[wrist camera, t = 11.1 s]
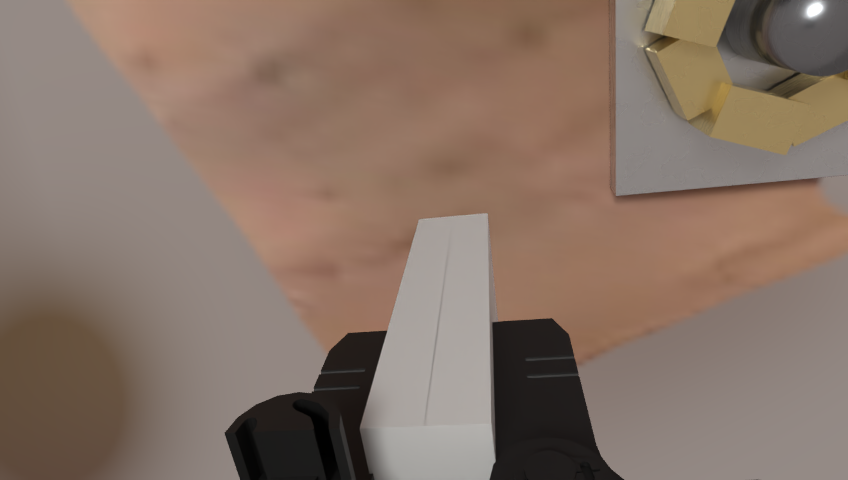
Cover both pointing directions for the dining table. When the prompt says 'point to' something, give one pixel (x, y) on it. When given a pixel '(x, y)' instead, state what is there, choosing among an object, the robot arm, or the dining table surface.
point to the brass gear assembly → (730, 102)
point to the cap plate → (747, 65)
